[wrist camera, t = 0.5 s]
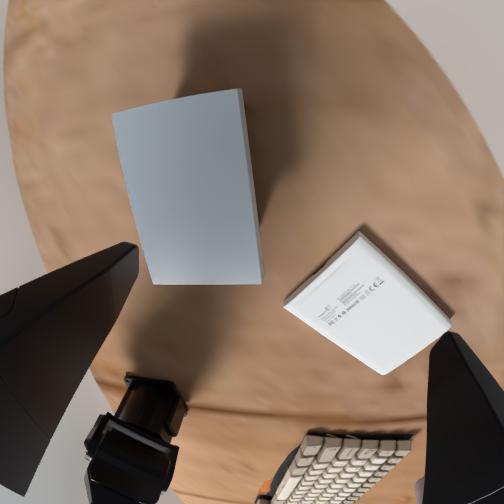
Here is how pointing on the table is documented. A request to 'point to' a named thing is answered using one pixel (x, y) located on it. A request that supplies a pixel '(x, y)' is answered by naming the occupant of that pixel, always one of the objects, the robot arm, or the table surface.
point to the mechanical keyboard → (334, 468)
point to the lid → (192, 189)
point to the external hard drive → (368, 307)
